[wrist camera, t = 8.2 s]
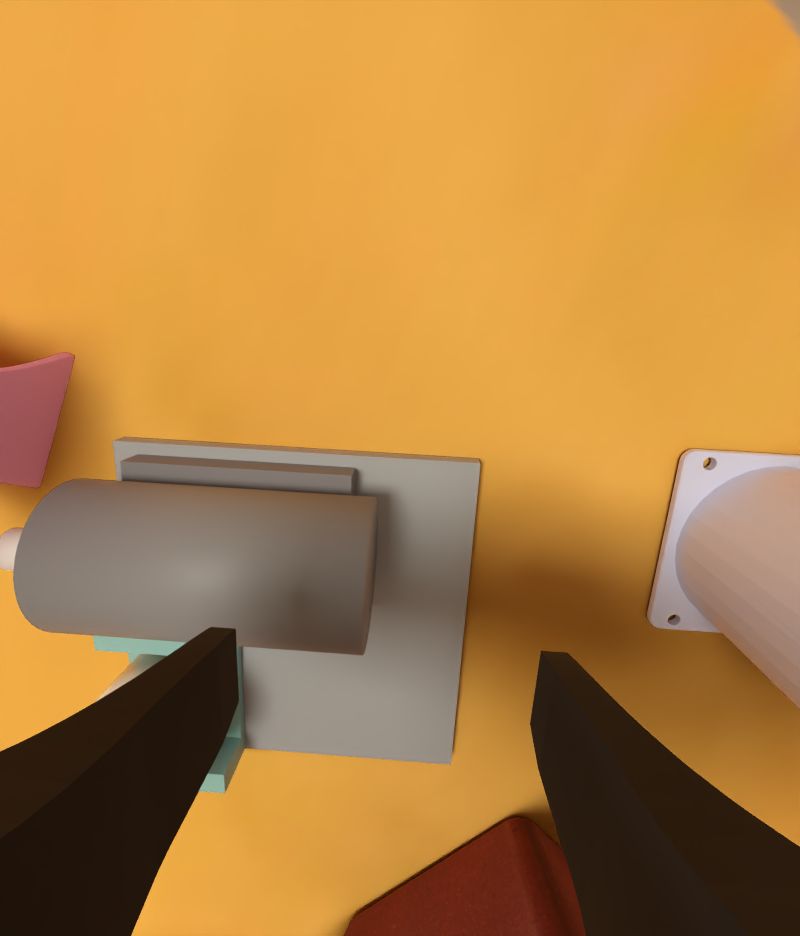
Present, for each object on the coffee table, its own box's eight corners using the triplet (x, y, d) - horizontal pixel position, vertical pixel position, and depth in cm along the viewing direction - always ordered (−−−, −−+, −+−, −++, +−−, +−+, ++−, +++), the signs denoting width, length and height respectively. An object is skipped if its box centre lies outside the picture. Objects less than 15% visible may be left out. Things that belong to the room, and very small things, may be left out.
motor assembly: (478, 458, 20) (503, 511, 14) (449, 751, 24) (459, 894, 18) (69, 433, 20) (-84, 474, 14) (107, 723, 24) (0, 853, 18)
